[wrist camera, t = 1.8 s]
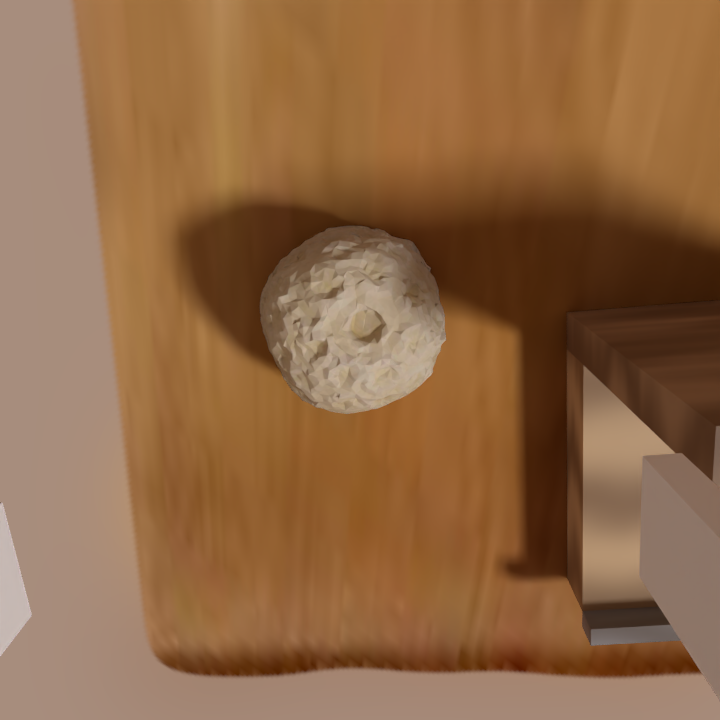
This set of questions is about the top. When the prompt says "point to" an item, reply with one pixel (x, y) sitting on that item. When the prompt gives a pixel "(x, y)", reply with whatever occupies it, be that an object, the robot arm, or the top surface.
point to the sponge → (353, 319)
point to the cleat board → (632, 446)
